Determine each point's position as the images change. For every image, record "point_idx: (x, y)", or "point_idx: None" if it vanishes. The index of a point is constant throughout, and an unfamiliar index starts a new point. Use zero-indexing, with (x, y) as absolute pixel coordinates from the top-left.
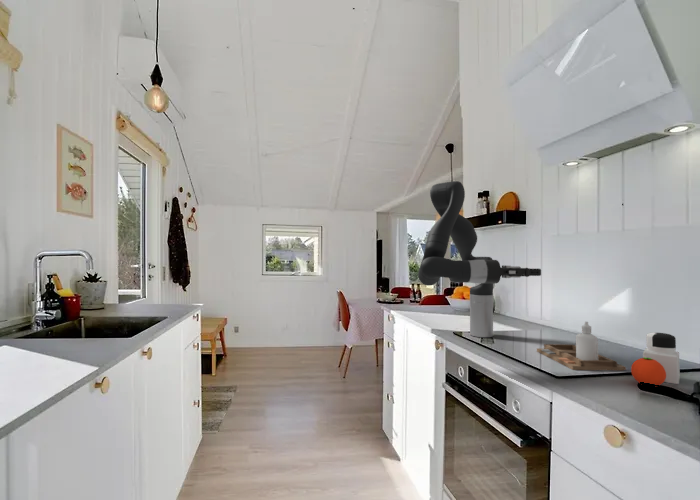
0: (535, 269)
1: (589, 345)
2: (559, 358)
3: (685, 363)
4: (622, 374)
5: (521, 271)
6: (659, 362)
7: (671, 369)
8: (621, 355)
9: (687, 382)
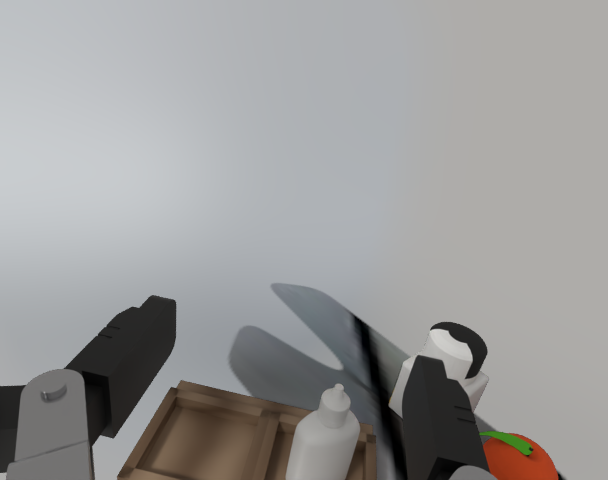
0: (447, 401)
1: (347, 452)
2: None
3: (318, 297)
4: (406, 469)
5: (140, 369)
6: None
7: (474, 405)
8: (243, 334)
9: None
